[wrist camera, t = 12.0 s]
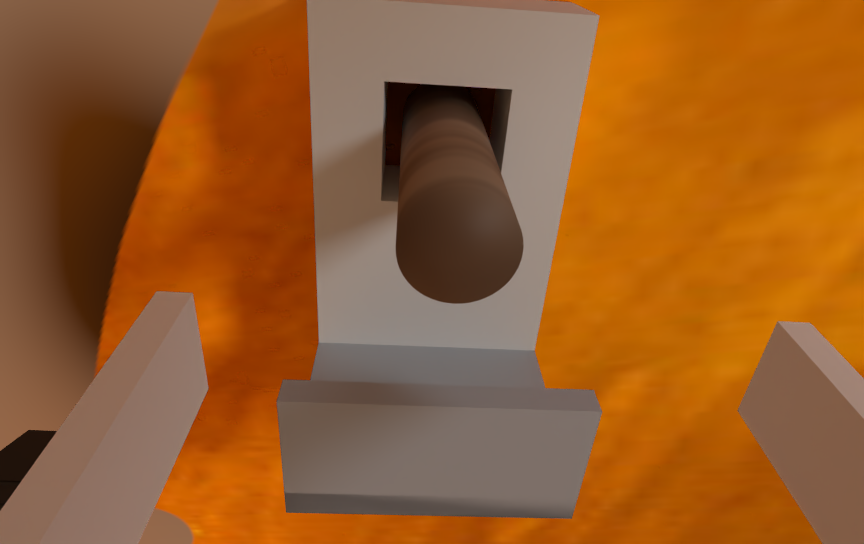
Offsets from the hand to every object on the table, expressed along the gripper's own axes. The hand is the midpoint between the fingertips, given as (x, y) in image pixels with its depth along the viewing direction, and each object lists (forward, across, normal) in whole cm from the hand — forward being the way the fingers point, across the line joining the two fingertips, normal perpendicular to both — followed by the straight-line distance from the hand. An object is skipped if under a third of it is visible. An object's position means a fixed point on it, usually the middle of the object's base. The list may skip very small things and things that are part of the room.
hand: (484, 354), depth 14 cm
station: (+20, 0, -4) cm, 21 cm away
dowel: (+20, 0, 0) cm, 21 cm away
